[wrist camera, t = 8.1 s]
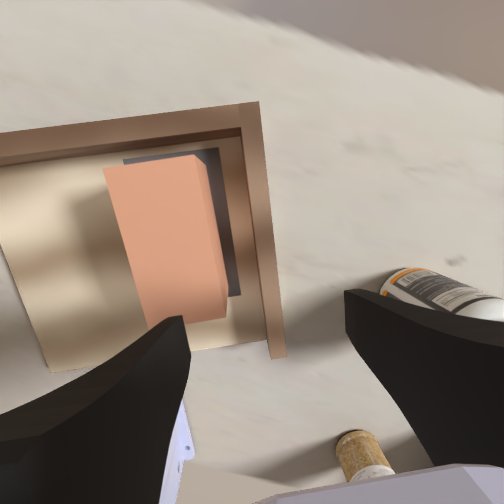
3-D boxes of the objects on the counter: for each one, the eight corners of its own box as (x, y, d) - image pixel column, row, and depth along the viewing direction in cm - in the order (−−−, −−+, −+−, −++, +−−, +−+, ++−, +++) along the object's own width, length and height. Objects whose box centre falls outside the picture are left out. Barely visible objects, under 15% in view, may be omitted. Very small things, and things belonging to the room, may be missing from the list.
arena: (278, 330, 21) (287, 357, 18) (59, 364, 21) (25, 397, 17) (254, 118, 17) (258, 101, 14) (-21, 153, 17) (-86, 143, 13)
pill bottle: (418, 332, 22) (555, 436, 13) (363, 314, 22) (466, 412, 12) (449, 276, 21) (625, 345, 12) (392, 255, 21) (531, 312, 11)
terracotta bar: (140, 175, 17) (102, 168, 12) (205, 165, 17) (193, 154, 12) (171, 295, 19) (148, 330, 14) (228, 285, 19) (226, 317, 14)
